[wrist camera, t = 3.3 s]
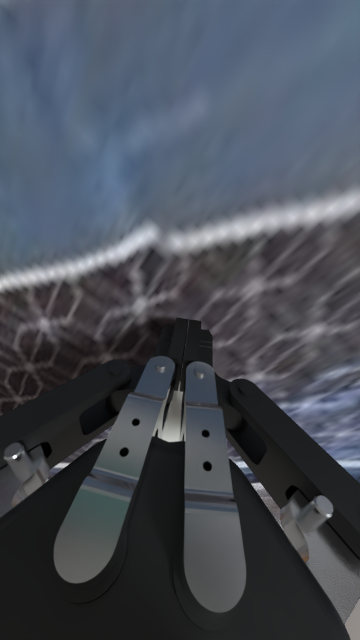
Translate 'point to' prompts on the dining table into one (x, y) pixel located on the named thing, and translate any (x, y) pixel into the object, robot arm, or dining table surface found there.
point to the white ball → (173, 418)
